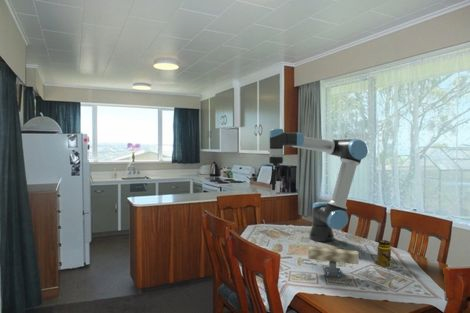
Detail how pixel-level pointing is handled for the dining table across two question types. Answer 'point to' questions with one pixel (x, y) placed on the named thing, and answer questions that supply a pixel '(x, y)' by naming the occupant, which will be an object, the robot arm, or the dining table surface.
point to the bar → (333, 255)
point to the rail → (332, 270)
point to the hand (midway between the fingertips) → (275, 194)
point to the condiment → (383, 254)
